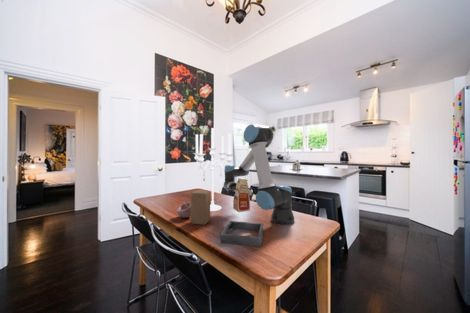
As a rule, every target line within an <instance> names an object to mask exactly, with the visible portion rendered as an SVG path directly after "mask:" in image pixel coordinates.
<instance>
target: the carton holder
mask: <svg viewBox="0 0 470 313" xmlns="http://www.w3.org/2000/svg"><path fill="white" fill-rule="evenodd" d="M264 226H265V224H264V223H261V222H249V221H248V222H247V221H234V220H230V221H229V222H228V223H227V224H226V226H225V227H224V229H223V231H222V232H221V234H220V243H221V244H228V245H229V244H230V245H239V246H249V247H259V248H261V247H262V242H263V235H264V231H265V229H264V228H265V227H264ZM232 230H242V231H252V232H253V231H256V232H258V234H257V236H250V235H239V234H230V233H231V231H232Z"/></svg>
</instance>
